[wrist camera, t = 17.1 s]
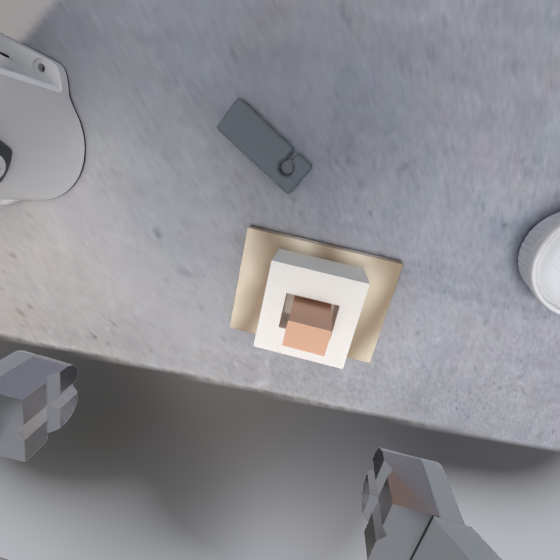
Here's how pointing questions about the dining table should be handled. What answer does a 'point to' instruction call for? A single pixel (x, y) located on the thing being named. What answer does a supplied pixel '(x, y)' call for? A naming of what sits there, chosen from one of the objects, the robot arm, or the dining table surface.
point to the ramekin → (543, 262)
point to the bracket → (262, 145)
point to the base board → (267, 243)
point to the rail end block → (308, 325)
